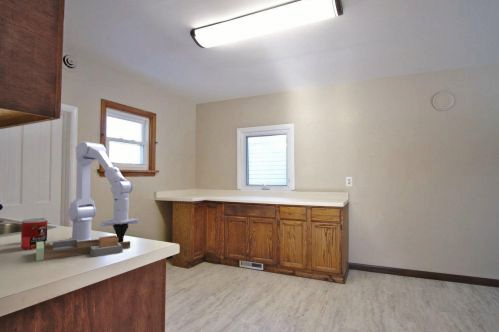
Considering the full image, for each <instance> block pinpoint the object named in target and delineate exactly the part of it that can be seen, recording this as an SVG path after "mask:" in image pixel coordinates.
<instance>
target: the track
mask: <svg viewBox="0 0 499 332" xmlns="http://www.w3.org/2000/svg"><path fill="white" fill-rule="evenodd" d="M119 243H120V244H121V245H123V250H126V249H130V248H131V241H129V240H128V241H123V242H119ZM92 246H94V247H99V238H96V239H93V240H87V241H78V242H77V248H71V249H63V250H55V251H53V244H51V245H49V244H45V245H44V260H43V261H47V260H53V259H60V258H61V259H62V258H66V257H75V256H81V255H89V254H90V252H91V247H92ZM116 246H117V243H116ZM90 255H91V254H90Z"/></svg>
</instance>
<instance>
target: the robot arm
mask: <svg viewBox="0 0 499 332" xmlns="http://www.w3.org/2000/svg"><path fill="white" fill-rule="evenodd" d="M76 145H77V146H75V160H76V182H75V183H76V187H75V188H76V191H75V192H76V194H75V195H76V198H75V199H74V200H73V201H71V202H70V203H69V209H68V211H67V215H68V218H69V219H70V221H72V232H71V233H72V235H71V237H69V240H73V239H79V240H80V241H87V240H94V239H93V237H92V220H94V218H95V216H96V214H97V208H96V205H95V204H96V203H95V201H94V200H93V199H92V198H91V164H92V163H93V162H95V161H97V162H98V164H99V165H100V166H101V167H102V168H103V170H104V176H105V178H106V180H107V181H108V182H109V184H110V185H111V187H110V191H111V193H112V198H113V216H112V217H113V218H112V219H110V220H102V221H100V227H111V226H112V228H113V230H114V231H115V236H117V237H118V238H119V239H118V243H119V242H124V237H125V235H126V233H127V230H129V225H132V224H140V218H138V217H137V218H129V210H130V206H129V205H130V194H131V193H132V191H133V183H132V181H130V180H128V179H127V178H125V176H123V174H122V173H121V171H120V168H118V167H116V166H113V163H112V162H111V160H110V159H109V156H108V155H107V149H106V148H105V145H104V144H103V143H95V142H88V141H84V140H83V141H79V143H78V144H76Z"/></svg>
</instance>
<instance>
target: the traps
mask: <svg viewBox="0 0 499 332" xmlns="http://www.w3.org/2000/svg"><path fill="white" fill-rule="evenodd" d="M78 241H80V240H79V239H73V240H70V239H67V240H57V241H50V242H49V243H48V245H51V244H53V251H55V250H63V249H71V248H77V242H78ZM123 250H124V249H123V245H121V244H120V243H117V246H111V247H104V248H99V247H97V248H96V246H92V247H91V252H90V255H91V256H92V257H98V256H105V255H106V256H107V255H112V254H119V253H123Z"/></svg>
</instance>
